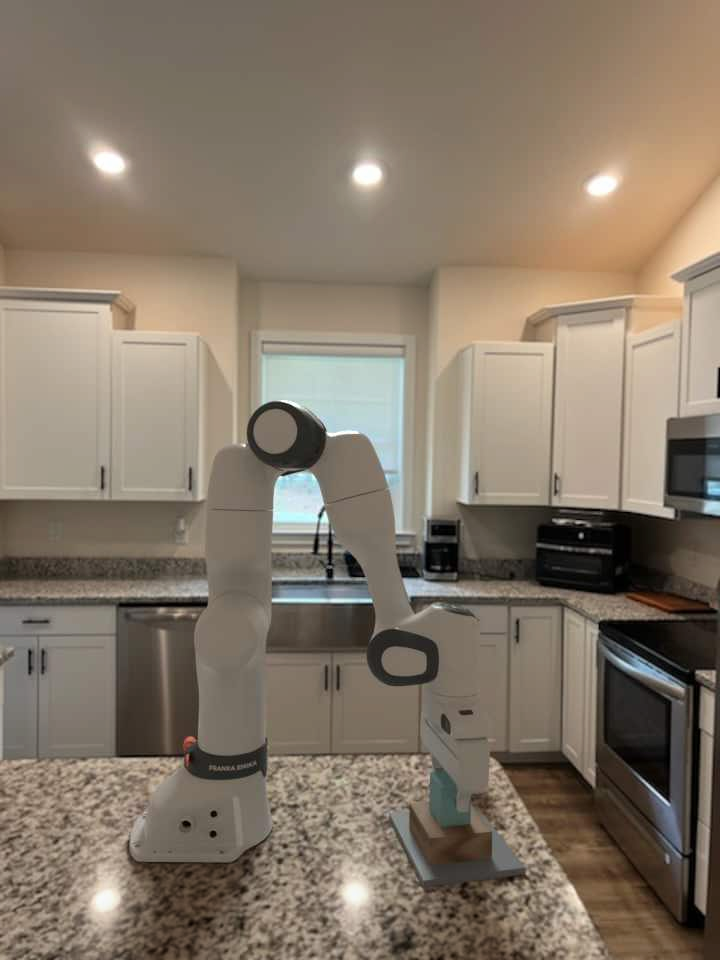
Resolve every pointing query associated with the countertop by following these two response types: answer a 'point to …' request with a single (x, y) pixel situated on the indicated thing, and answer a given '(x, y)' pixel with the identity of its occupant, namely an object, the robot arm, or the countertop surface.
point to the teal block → (446, 801)
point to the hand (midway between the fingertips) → (449, 793)
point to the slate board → (459, 872)
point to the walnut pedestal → (449, 837)
